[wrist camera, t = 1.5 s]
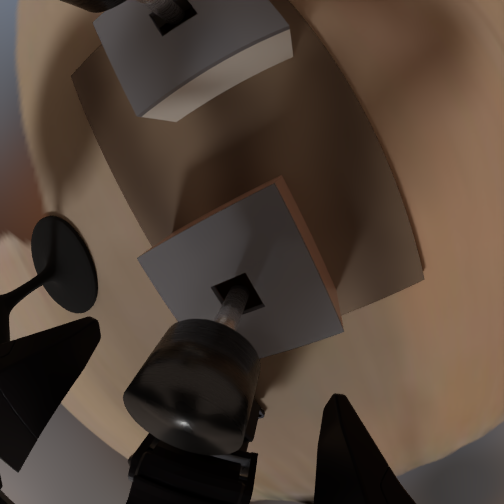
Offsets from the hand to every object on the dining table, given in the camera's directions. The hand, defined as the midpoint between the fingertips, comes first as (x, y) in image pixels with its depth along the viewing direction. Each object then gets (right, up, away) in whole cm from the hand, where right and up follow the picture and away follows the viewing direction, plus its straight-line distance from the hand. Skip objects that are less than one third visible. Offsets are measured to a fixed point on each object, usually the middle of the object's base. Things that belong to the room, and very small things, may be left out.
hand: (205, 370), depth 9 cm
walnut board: (0, +10, +7) cm, 12 cm away
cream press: (-1, +17, +4) cm, 18 cm away
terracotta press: (+2, +4, +9) cm, 10 cm away
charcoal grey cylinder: (+1, +2, +5) cm, 5 cm away
